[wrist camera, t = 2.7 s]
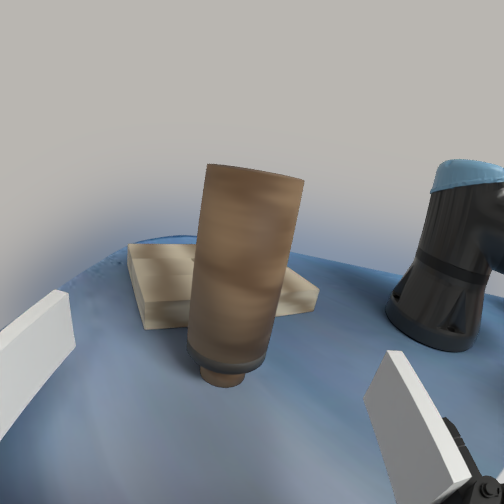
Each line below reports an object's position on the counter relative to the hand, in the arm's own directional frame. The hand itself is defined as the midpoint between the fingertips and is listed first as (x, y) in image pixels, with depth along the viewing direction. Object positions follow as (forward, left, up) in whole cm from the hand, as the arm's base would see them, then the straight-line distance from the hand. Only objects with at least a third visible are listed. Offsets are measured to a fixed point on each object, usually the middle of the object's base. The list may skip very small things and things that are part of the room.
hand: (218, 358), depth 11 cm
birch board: (-10, -23, -9) cm, 27 cm away
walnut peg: (-5, -8, -9) cm, 13 cm away
